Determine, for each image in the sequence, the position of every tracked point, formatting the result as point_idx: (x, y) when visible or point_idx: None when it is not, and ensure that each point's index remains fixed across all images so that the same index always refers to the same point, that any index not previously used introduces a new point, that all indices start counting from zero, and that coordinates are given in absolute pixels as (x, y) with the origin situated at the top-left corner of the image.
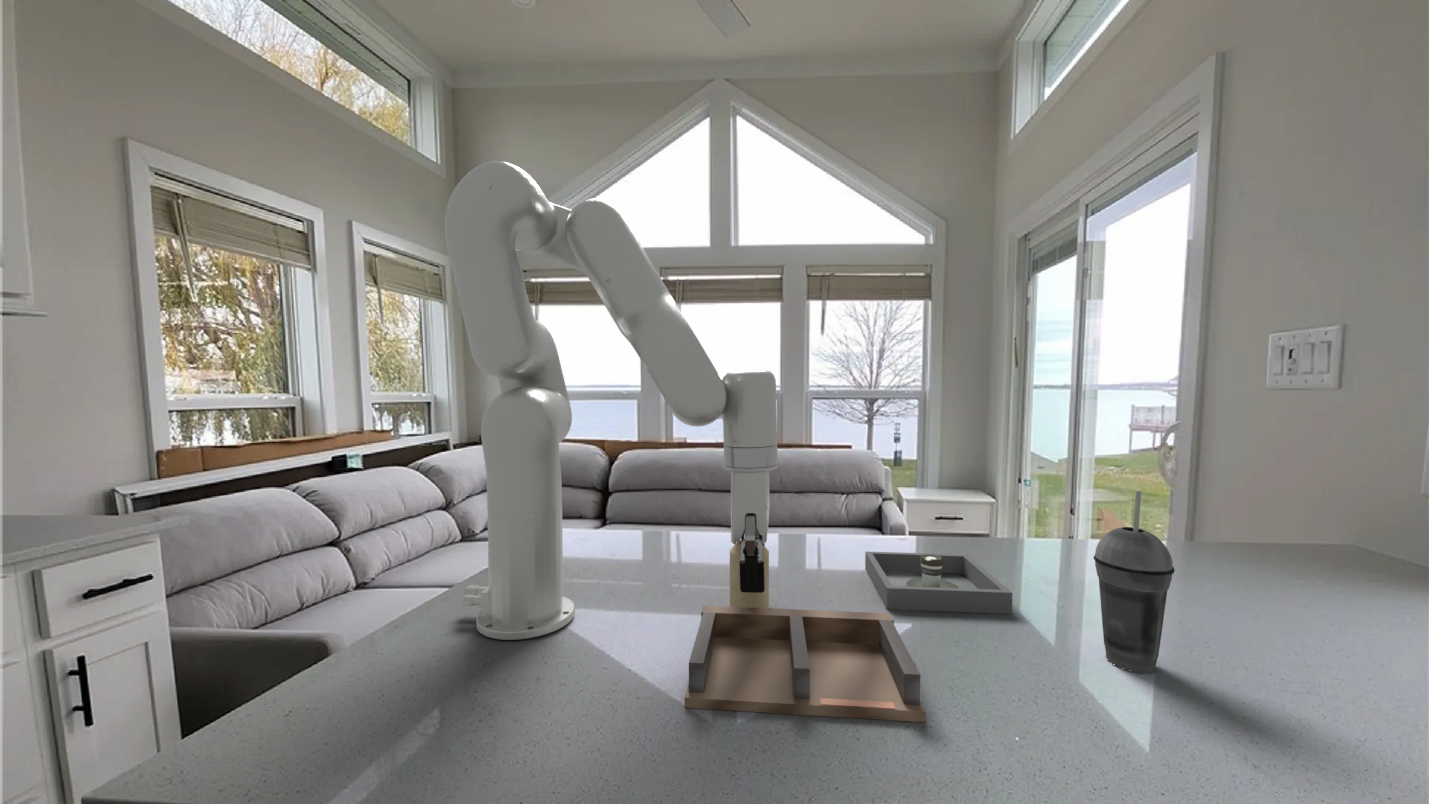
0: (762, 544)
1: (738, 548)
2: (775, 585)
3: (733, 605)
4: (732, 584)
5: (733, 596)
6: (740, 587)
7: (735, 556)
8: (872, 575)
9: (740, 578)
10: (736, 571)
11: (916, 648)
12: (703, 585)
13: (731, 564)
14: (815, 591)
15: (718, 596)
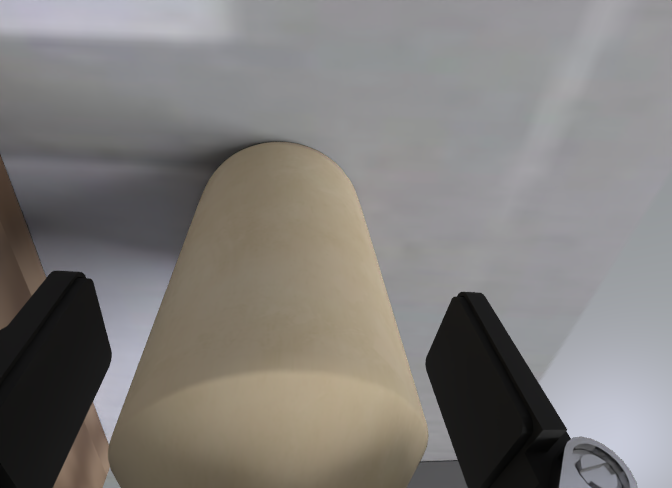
0: (469, 477)
1: (182, 473)
2: (496, 300)
3: (226, 171)
4: (218, 221)
5: (218, 192)
6: (43, 284)
7: (146, 396)
8: (451, 477)
9: (12, 327)
10: (171, 303)
11: (116, 480)
12: (619, 10)
13: (210, 301)
14: (420, 380)
15: (449, 92)
